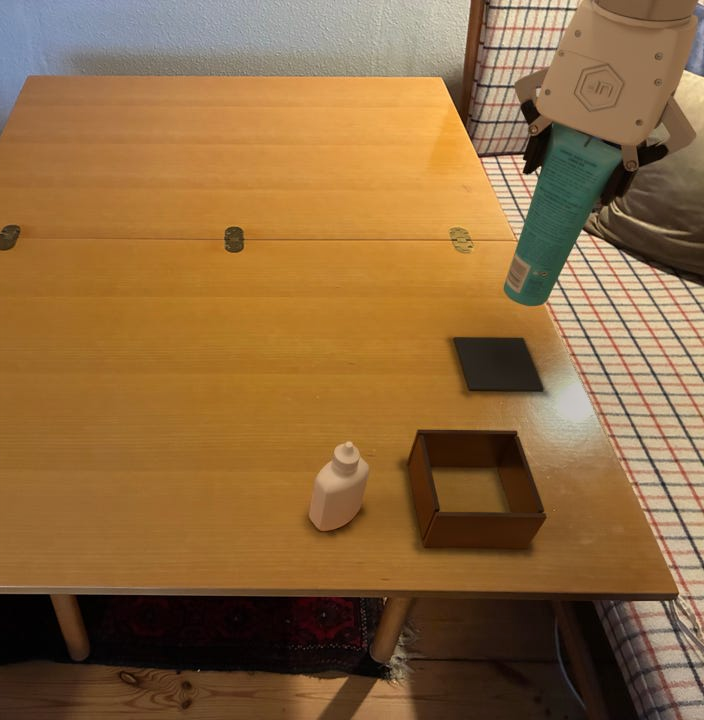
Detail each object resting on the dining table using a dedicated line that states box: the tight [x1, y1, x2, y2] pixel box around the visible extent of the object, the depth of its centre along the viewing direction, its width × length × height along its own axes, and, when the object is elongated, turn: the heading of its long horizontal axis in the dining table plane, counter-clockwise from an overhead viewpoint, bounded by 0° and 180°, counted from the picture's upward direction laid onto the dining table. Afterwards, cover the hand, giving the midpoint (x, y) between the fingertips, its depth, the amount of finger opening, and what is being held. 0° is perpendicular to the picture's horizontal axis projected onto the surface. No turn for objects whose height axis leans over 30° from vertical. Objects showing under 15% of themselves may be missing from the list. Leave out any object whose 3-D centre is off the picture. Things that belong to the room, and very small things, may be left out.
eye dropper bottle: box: [308, 440, 371, 532], centre depth 68 cm, size 4×6×12 cm
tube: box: [503, 122, 623, 307], centre depth 72 cm, size 7×5×19 cm, turn 44°
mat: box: [453, 336, 545, 392], centre depth 87 cm, size 9×9×1 cm
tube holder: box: [406, 428, 548, 550], centre depth 71 cm, size 10×10×6 cm
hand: (570, 183), depth 69 cm, fingers closed on tube, 7 cm apart
